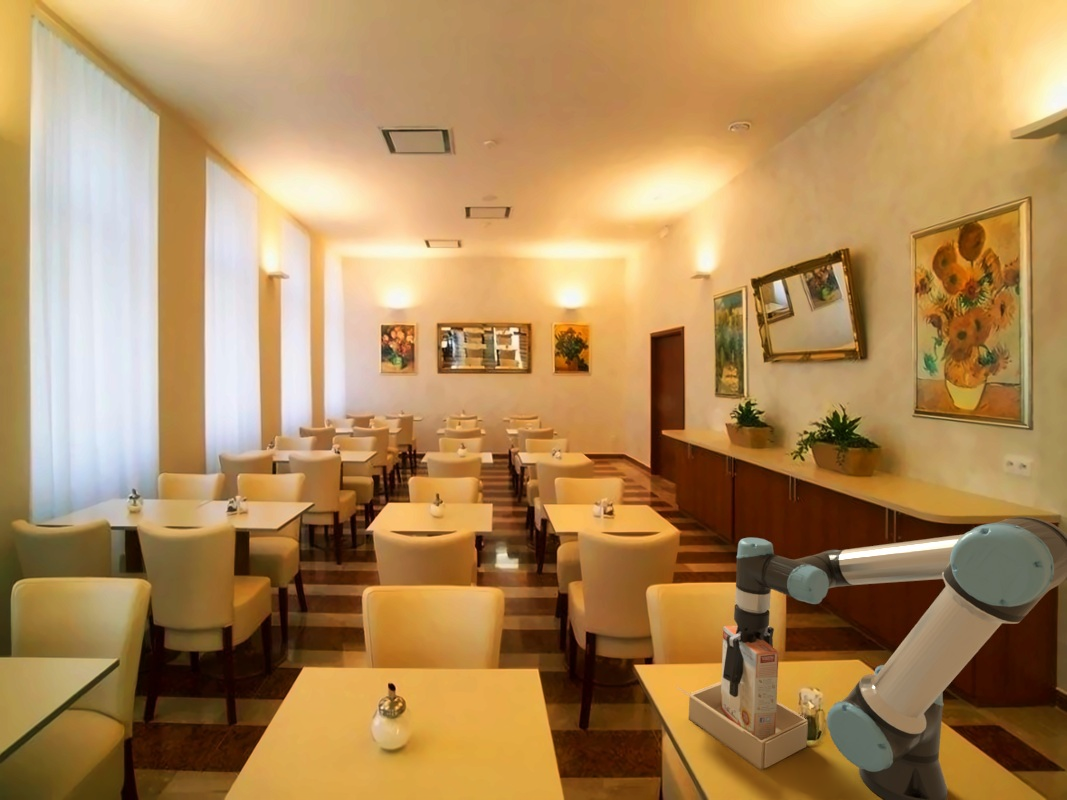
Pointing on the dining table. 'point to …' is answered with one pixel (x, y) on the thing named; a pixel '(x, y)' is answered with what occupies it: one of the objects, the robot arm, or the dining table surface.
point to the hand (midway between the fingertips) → (747, 703)
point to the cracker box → (753, 687)
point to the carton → (755, 752)
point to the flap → (718, 714)
